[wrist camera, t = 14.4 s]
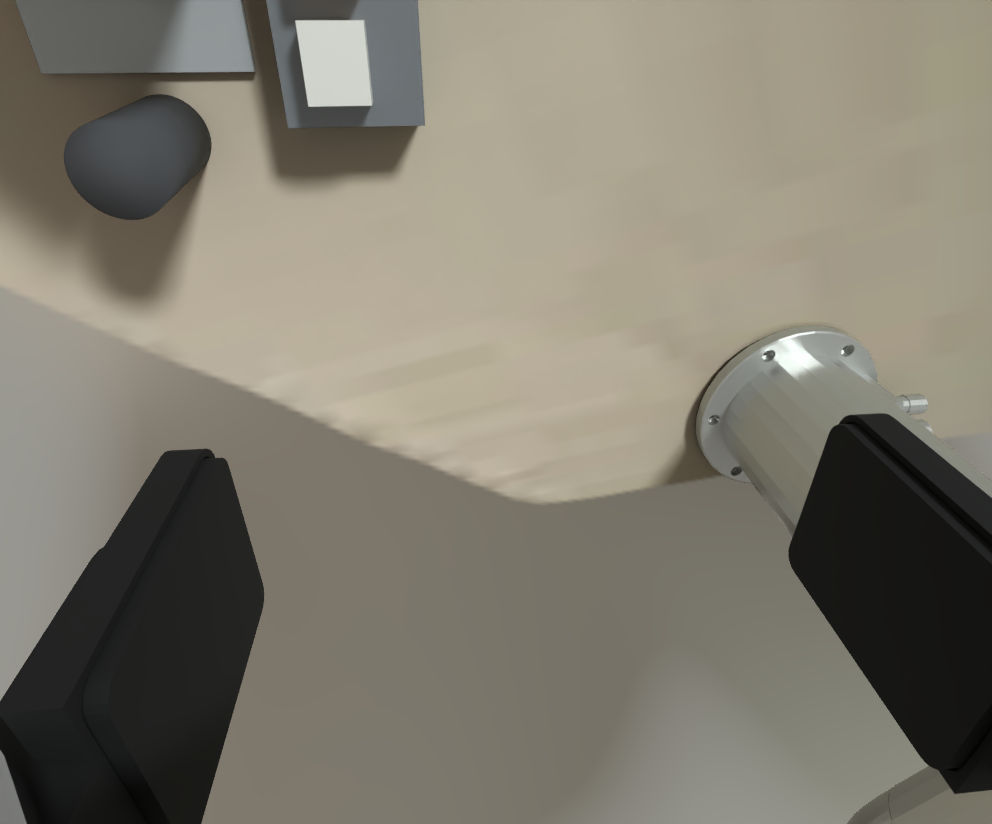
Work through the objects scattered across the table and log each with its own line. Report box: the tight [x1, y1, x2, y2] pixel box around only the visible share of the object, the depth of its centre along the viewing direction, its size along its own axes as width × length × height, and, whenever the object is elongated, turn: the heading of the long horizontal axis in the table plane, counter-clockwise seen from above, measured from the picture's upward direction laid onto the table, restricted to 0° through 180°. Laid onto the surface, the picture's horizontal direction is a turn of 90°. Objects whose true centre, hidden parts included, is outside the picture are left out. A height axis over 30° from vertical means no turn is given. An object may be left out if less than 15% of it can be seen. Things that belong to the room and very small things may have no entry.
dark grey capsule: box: [64, 94, 211, 220], centre depth 26 cm, size 4×4×7 cm
